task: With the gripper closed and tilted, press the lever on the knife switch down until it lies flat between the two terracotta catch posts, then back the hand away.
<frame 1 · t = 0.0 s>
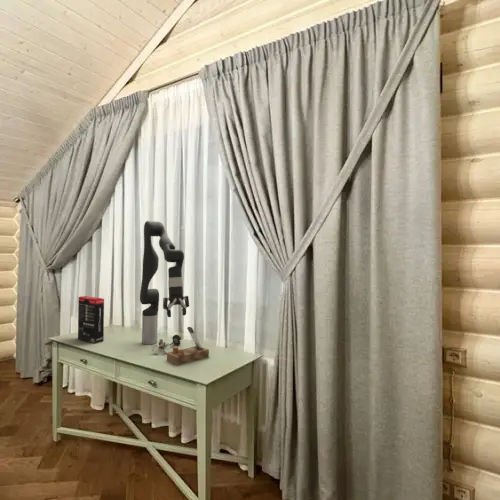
hand: (176, 316, 180), 22 cm above the table, tool pointing down, fingers open, 8 cm apart
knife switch: (188, 358, 179), on the table
graphics card box: (90, 340, 210), on the table
lever: (194, 337, 182), point 10 cm above the table, hinge at 60.0°
artificial flower: (167, 350, 194), on the table
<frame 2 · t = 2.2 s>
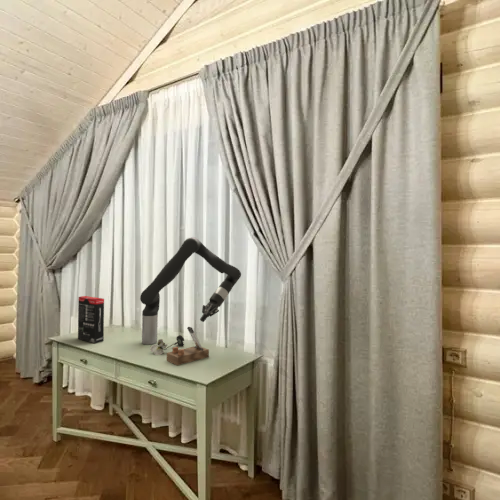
hand: (201, 320, 185), 19 cm above the table, tool tilted 45°, fingers closed
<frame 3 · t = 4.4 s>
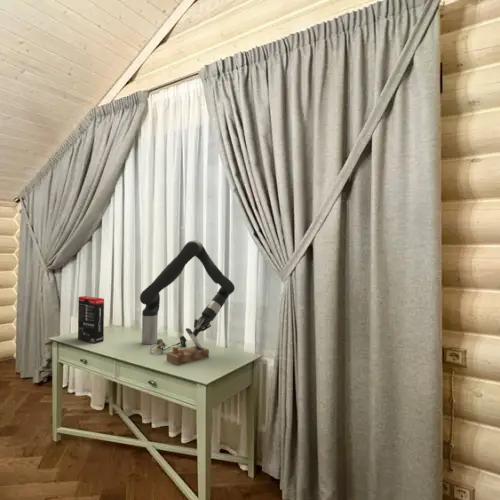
hand: (193, 335, 181), 12 cm above the table, tool tilted 45°, fingers closed
lever: (193, 338, 182), point 10 cm above the table, hinge at 54.8°, touching gripper, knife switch
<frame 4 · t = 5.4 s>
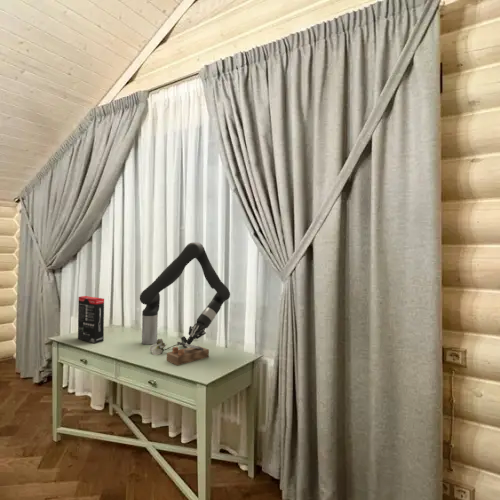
hand: (187, 343, 179), 8 cm above the table, tool tilted 45°, fingers closed
lever: (189, 345, 179), point 7 cm above the table, hinge at 19.8°, touching gripper, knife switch
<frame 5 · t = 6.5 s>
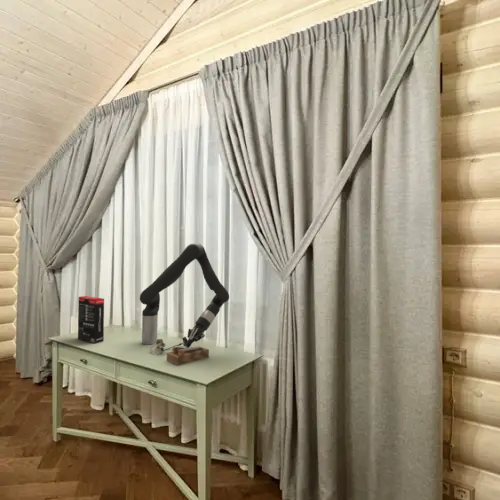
hand: (186, 346, 178), 7 cm above the table, tool tilted 45°, fingers closed
lever: (188, 348, 179), point 6 cm above the table, hinge at 8.3°, touching gripper
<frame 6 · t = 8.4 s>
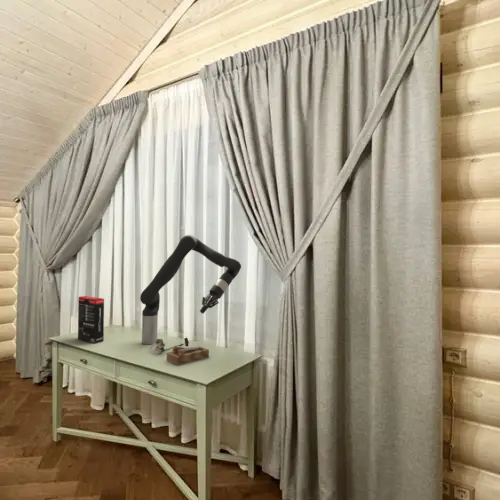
hand: (201, 312, 185), 24 cm above the table, tool tilted 45°, fingers closed
lever: (188, 348, 179), point 6 cm above the table, hinge at 8.3°
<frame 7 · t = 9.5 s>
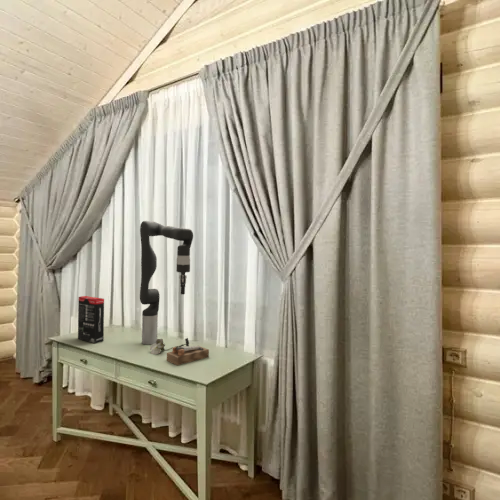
hand: (182, 294, 190), 33 cm above the table, tool pointing down, fingers closed
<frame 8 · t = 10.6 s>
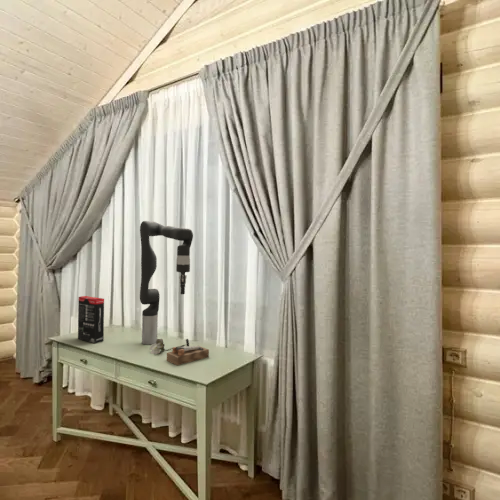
hand: (182, 294, 190), 33 cm above the table, tool pointing down, fingers closed
at the end: lever at +8° (first picture: +60°) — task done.
